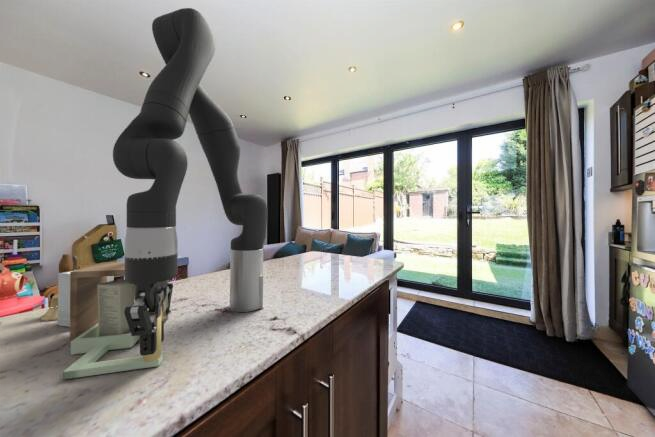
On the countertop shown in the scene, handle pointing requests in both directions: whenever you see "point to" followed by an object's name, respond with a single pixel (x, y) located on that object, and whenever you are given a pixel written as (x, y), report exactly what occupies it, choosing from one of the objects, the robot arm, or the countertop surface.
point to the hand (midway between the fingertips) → (152, 347)
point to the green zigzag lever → (100, 345)
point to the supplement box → (66, 298)
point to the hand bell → (52, 313)
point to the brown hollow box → (89, 294)
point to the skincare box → (114, 306)
